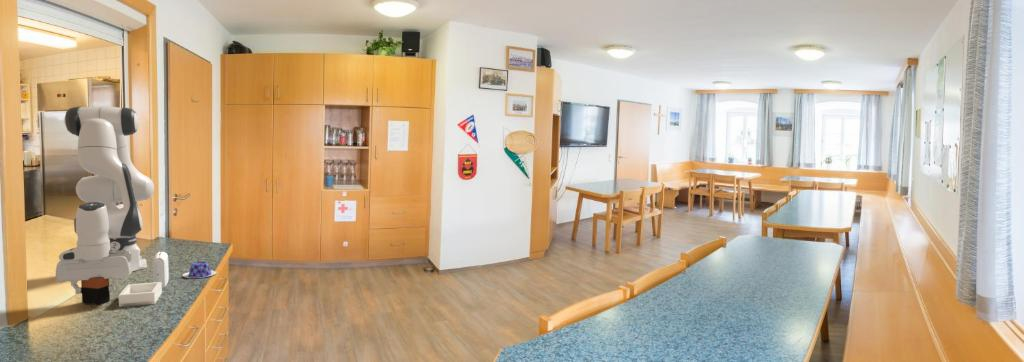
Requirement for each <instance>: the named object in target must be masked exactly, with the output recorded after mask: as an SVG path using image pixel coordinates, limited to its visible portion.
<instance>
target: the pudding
mask: <svg viewBox="0 0 1024 362" xmlns="http://www.w3.org/2000/svg"><path fill="white" fill-rule="evenodd" d="M216 274H217V271H216V270H212V269H211V268H210V265H209V262H207V261H195V262H192V263H191V264H190V268H189V271H188V272H185V273H183V274H182V277H184V278H187V279H202V278H208V277H211V276H214V275H216Z"/></svg>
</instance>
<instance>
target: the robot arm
mask: <svg viewBox="0 0 1024 362" xmlns="http://www.w3.org/2000/svg"><path fill="white" fill-rule="evenodd" d="M63 119H64V121H63V122H64V126H65V128H66V130H67V132H69V133H70V134H72V135H74V136H76V137H78V138H77V139H78V140H77V159H78V164H79V166H80V167H81V168H82V169H83V170H85V171H86V172H88V173H89V174H92V175H90V176H83V177H81V179H79V180H78V182H77V183H76V185H75V193H76V195H77V197H78V198H79V199H80V200H81V201H82V202H84V203H82V204H79V205H78V206H77V209H76V216H75V218H74V220H73V225H74V229H73V230H74V233H75V234H76V236H77V240H76V247H73V248H70V249H66V250H64V251H62V252H60V254H59V255H58V259H59V261H58V262H57V264H56V267H55V268H56V269H55V280H56V281H57V282H59V283H62V282H63V283H65V282H70V286H71V287H72V288H73V289H74V290H75V294H76V295H77V294H78V295H79V294H82V287H81V286H79V285H78V284H77V283H78V282H79V281H80V282H81V280H88V279H89V278H92V277H104V279H109V280H110V279H111V280H112V282H113V283H112V284H109V292H114V291H116V285H117V283H118V282H119V280H120V278H121V279H122V278H129V277H130V275H131V274H132V272H134V271H139V270H143V269H147V267H148V265H147V259H146V258H143V256H142V255H141V249H140V247H139V245H138V244H137V242H138V241H137V234H139V232H141V231H142V228H143V225H144V224H143V223H144V222H143V217H142V214H141V211H140V210H139V206H138V202H142V201H146V200H149V199H151V197H152V196H153V195H154V192H155V184H154V182H153V180H152V179H151V177H149V176H147V175H146V174H143V173H142V172H140V171H139V170H138V169H137V168H136V167H135V165H134V164H133V162H132V159H131V155H130V149H129V143H128V137H127V136H132V135H134V134H135V133H137V131H138V128H139V127H140V126H139V125H140V119H139V116H138V114H137V112H136V111H135V110H134V109H133V108H129V107H124V106H123V107H117V106H108V105H107V106H105V105H102V106H82V107H81V106H73V107H69V109H68V110H66V113H65V115H64V118H63ZM116 203H123V207H121V208H119V207H118V206H117V204H116ZM99 274H100V276H99Z"/></svg>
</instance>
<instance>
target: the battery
mask: <svg viewBox="0 0 1024 362" xmlns="http://www.w3.org/2000/svg"><path fill="white" fill-rule="evenodd" d="M99 276H100V274H99ZM80 283H81V285H80V287H82V293H81V303H82V304H84V303H85V304H86V305H95V304H96V305H97V306H99V305H103V304H106V303H108V302H110V301H111V298H110V293H111V292H110V291H109V286H110V279H104V277H92V278H89V279H88V280H81V281H80ZM96 305H95V306H96Z"/></svg>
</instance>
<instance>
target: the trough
mask: <svg viewBox="0 0 1024 362" xmlns="http://www.w3.org/2000/svg"><path fill="white" fill-rule="evenodd" d="M162 294H163V288H162V282H155V283H153V282H144V283H143V282H142V283H131V284H130V283H129V284H127V285H126V286H125V287H124V289H122V291H120V293H119V294H118V307H119V308H122V307H136V306H146V305H147V306H148V305H155V304H156V303H157V301H158V300H159V298H160V297H161V295H162Z"/></svg>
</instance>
